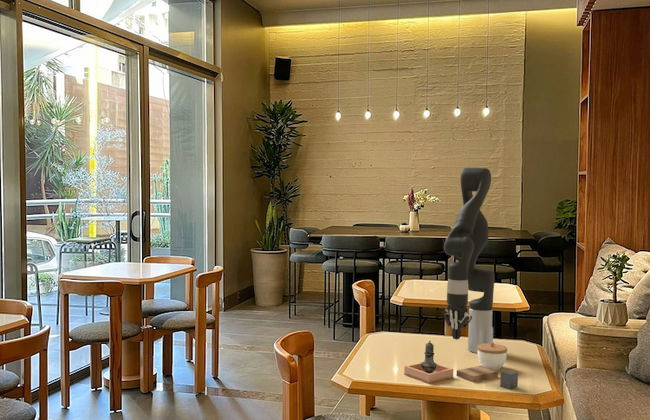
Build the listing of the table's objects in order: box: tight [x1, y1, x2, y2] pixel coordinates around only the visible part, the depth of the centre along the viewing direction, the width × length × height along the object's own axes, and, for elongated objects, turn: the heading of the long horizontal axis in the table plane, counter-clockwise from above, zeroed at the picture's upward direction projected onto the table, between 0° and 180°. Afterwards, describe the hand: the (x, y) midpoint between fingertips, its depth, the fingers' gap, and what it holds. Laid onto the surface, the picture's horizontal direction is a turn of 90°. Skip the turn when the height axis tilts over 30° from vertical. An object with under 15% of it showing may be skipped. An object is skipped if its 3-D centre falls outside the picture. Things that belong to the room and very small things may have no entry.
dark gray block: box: [499, 369, 519, 390], centre depth 213 cm, size 4×4×5 cm
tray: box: [403, 361, 454, 384], centre depth 224 cm, size 12×12×3 cm
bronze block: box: [456, 365, 499, 383], centre depth 224 cm, size 12×8×2 cm, turn 122°
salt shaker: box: [420, 340, 438, 373], centre depth 224 cm, size 6×6×12 cm
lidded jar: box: [477, 341, 508, 371], centre depth 235 cm, size 11×11×9 cm
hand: (456, 338), depth 232 cm, fingers closed
